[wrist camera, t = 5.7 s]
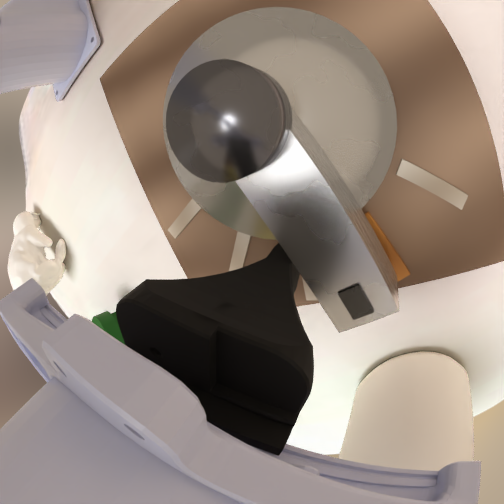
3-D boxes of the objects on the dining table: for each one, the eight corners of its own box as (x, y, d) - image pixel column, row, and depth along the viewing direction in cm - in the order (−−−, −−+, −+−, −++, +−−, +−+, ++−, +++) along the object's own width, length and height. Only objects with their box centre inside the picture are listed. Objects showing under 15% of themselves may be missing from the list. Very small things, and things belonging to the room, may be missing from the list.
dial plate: (116, 78, 14) (97, 78, 13) (355, -64, 5) (351, -81, 3) (220, 304, 19) (207, 318, 17) (497, 246, 9) (509, 261, 8)
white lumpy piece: (24, 315, 23) (-6, 243, 24) (74, 286, 29) (40, 223, 30) (16, 290, 19) (-12, 212, 20) (77, 259, 26) (41, 192, 27)
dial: (147, 114, 12) (79, 123, 9) (286, -20, 7) (240, -70, 3) (287, 309, 14) (254, 369, 11) (467, 226, 8) (506, 281, 5)
